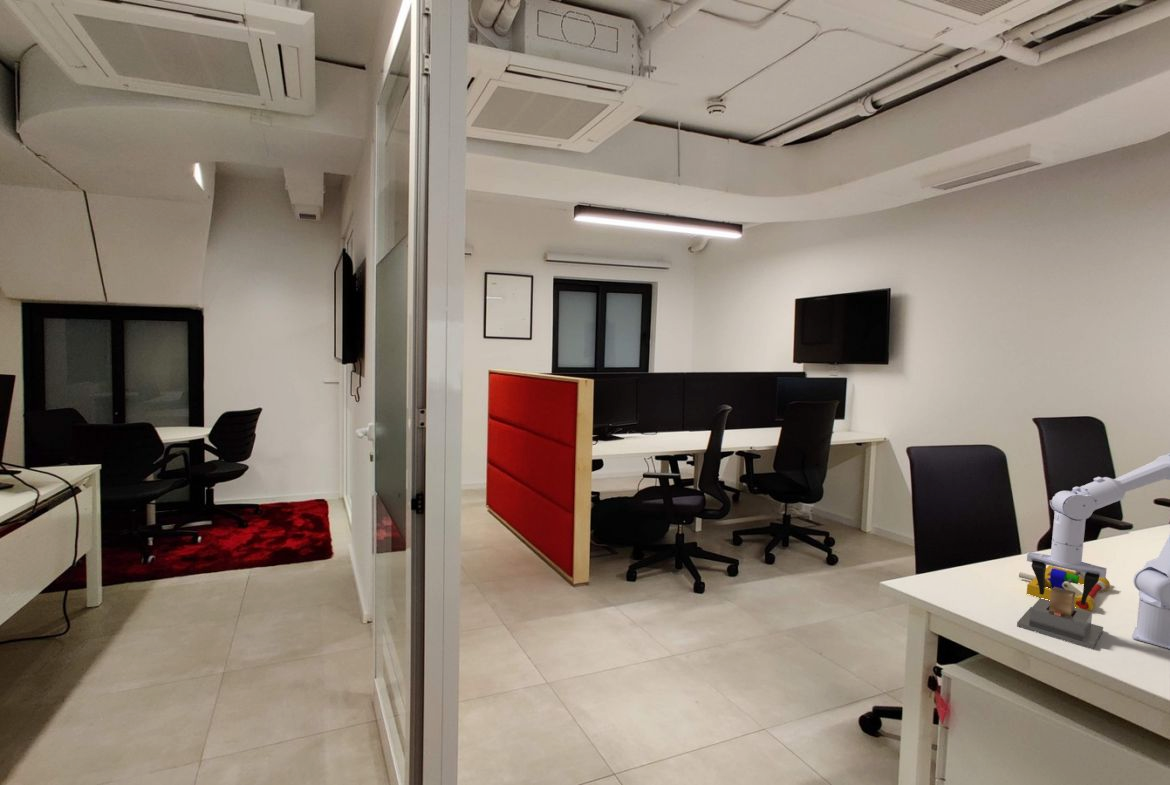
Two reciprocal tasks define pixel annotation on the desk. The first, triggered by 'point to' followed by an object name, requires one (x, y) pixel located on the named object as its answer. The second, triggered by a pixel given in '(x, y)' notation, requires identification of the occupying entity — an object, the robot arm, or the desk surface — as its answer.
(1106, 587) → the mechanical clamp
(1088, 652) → the desk surface
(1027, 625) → the metal sleeve
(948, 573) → the desk surface
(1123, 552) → the desk surface
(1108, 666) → the desk surface
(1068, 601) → the oak post
